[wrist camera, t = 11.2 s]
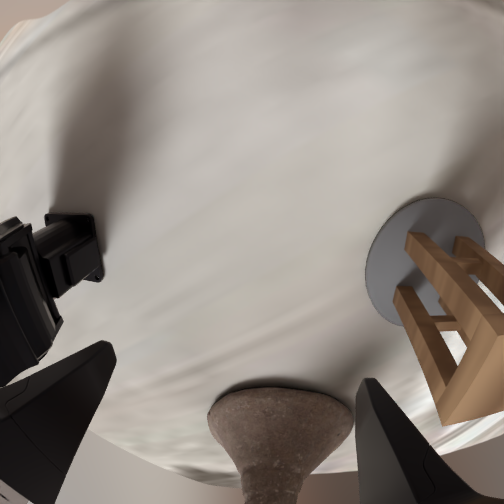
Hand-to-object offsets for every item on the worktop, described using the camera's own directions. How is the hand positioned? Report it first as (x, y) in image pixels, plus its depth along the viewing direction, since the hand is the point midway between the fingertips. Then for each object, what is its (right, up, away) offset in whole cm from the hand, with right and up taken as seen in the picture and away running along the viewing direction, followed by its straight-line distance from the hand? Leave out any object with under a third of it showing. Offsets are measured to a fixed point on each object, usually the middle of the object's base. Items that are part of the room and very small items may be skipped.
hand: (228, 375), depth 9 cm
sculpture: (+4, -16, +21) cm, 27 cm away
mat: (+15, +3, +11) cm, 18 cm away
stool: (+15, +3, +10) cm, 18 cm away
